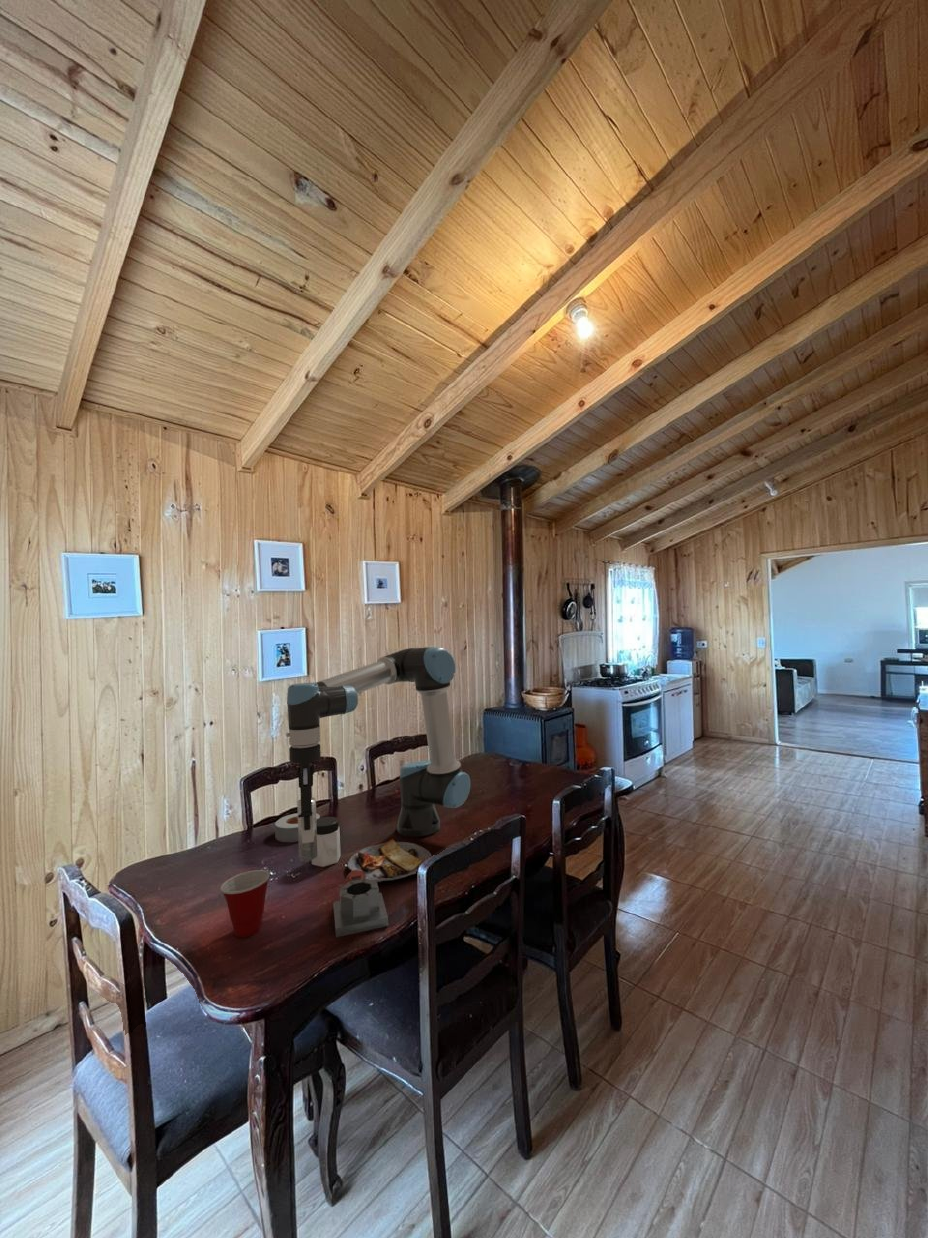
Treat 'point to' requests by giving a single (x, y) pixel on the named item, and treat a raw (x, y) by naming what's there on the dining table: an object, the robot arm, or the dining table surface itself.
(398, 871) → the food plate
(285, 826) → the tape roll
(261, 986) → the dining table surface
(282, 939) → the dining table surface
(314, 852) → the pipe stub
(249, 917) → the plastic cup
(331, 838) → the jar
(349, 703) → the robot arm
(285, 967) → the dining table surface
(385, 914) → the valve body
